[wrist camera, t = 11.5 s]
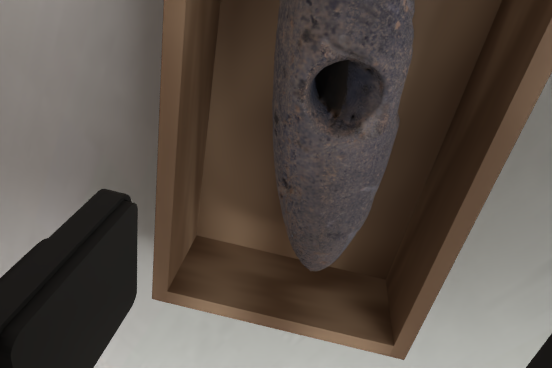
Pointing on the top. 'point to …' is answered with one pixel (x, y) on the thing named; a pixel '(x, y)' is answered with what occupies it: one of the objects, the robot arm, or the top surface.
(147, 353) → the top surface
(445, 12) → the box
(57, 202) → the top surface
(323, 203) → the perforated stone tool
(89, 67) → the top surface
